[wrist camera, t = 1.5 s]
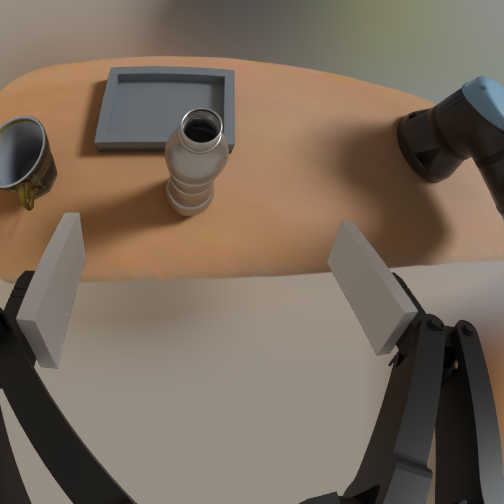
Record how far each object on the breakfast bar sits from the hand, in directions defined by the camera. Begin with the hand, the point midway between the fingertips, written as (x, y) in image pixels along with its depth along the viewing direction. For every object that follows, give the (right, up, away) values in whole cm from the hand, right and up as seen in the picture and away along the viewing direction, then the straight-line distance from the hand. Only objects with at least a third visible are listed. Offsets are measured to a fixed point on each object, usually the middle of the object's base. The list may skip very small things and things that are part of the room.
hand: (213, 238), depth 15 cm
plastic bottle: (-7, +7, +29) cm, 31 cm away
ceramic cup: (-29, +9, +24) cm, 39 cm away
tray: (-11, +21, +30) cm, 38 cm away
